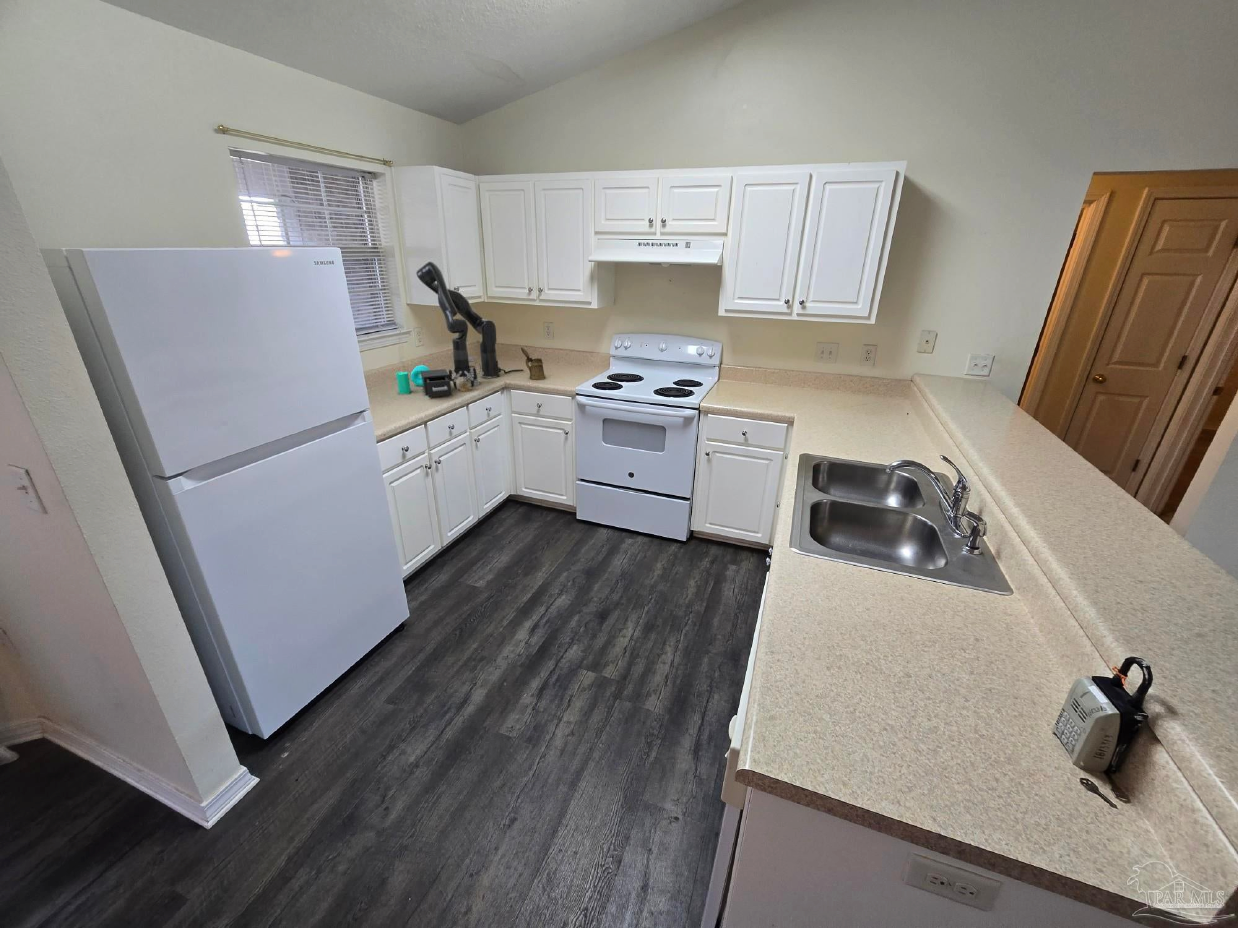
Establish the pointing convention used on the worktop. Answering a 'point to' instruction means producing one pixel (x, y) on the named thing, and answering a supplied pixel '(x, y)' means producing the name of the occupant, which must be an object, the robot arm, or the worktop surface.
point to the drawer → (438, 387)
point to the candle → (403, 382)
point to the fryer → (432, 376)
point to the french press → (471, 371)
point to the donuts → (415, 374)
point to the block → (464, 386)
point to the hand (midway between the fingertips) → (464, 387)
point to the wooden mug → (534, 366)
